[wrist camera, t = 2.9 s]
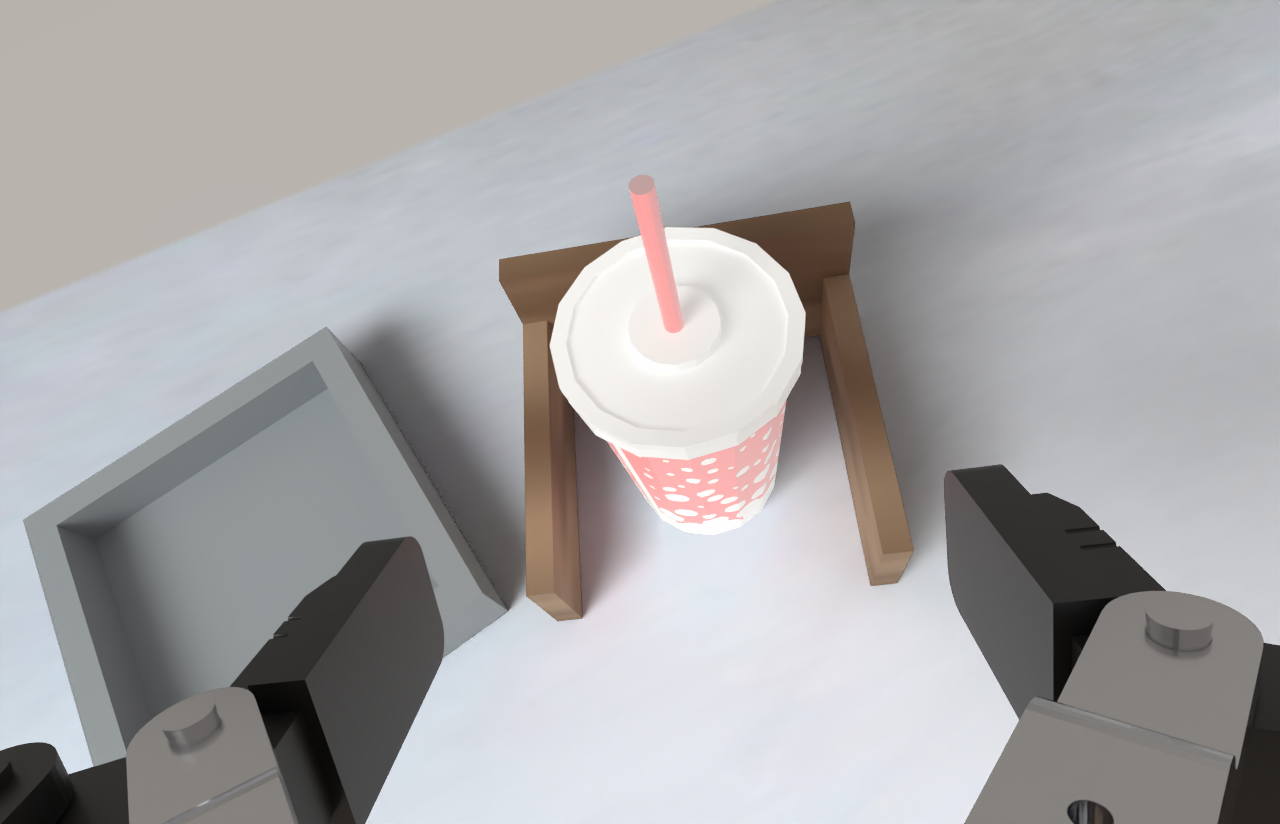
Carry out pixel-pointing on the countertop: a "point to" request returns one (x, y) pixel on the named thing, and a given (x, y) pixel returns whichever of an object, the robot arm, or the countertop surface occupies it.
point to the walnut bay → (821, 278)
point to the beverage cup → (684, 364)
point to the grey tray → (235, 538)
